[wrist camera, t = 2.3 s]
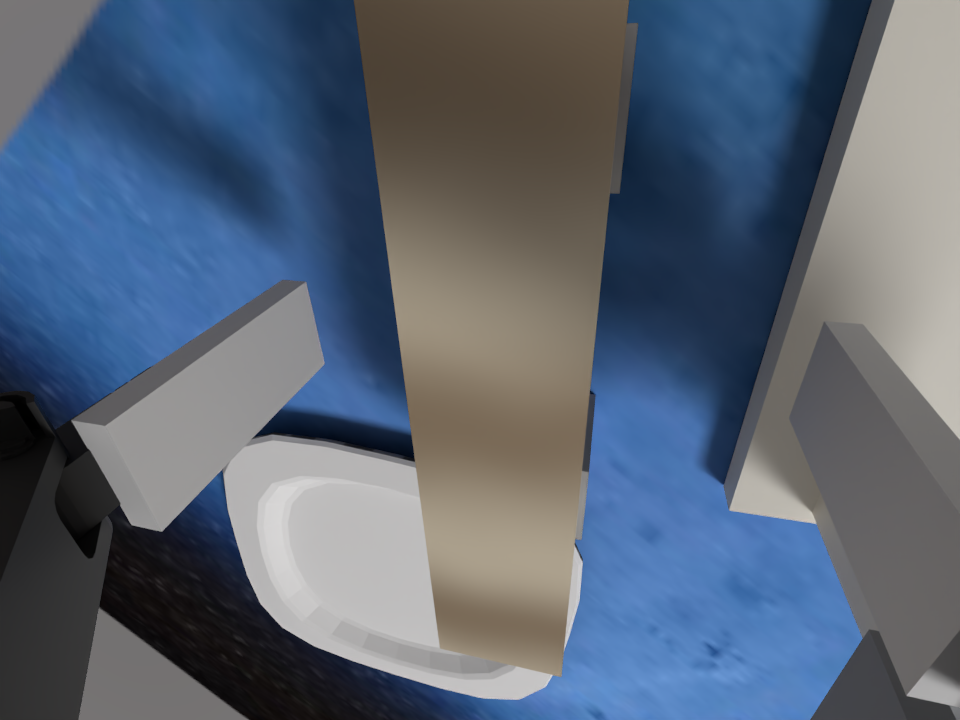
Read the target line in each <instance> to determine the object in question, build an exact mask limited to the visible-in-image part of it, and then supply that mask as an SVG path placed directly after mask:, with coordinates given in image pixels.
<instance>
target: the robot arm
mask: <svg viewBox="0 0 960 720" xmlns="http://www.w3.org/2000/svg"><path fill="white" fill-rule="evenodd" d="M324 364H325V363H324V358H323V354H322V349H321V345H320V341H319V336H318V332H317V327H316V323H315V319H314V314H313V310H312V305H311V301H310V297H309V292H308V288H307V283H306V282H304V281H291V280H282V281H280V282H279V283H277V284H276V285H274V286H273V287H271V288H270V289H268V290H267V291H265V292H264V293H262V294H261V295H259V296H258V297H256V298H255V299H253V300H252V301H250V302H248V303H247V304H245V305H244V306H242V307H241V308H239V309H238V310H236V311H235V312H233V313H232V314H230V315H229V316H227V317H226V318H224V319H223V320H221V321H220V322H218V323H217V324H215V325H214V326H212V327H211V328H209V329H208V330H206V331H205V332H203V333H202V334H200V335H199V336H197V337H196V338H194V339H193V340H191V341H190V342H188V343H187V344H185V345H184V346H182V347H181V348H179V349H178V350H176V351H175V352H173V353H172V354H170V355H169V356H167V357H166V358H164V359H163V360H161V361H160V362H158V363H157V364H155V365H154V366H152V367H149V368H148V369H146V370H145V371H143V372H142V373H140V374H139V375H137V376H136V377H134V378H133V379H131V381H130V382H127V383H125V384H124V385H122V386H121V387H119V388H118V389H116V390H115V392H113V393H110V394H109V395H107V396H106V397H104V398H103V399H101V400H100V401H98V402H97V403H95V404H94V405H92V406H91V407H89V408H88V409H86V410H84V411H83V412H81V413H80V414H78V415H77V416H75V417H74V418H72V419H71V420H69V421H68V422H66V423H65V424H63V425H62V426H60V427H59V428H57V429H56V430H55V429H54V427H53V425H52V424H51V422H50V420H49V419H48V417H47V415H46V414H45V412H44V410H43V409H42V407H41V405H40V404H39V402H38V400H37V399H36V397H35V396H34V395H33V394H31V393H30V392H26V391H12V392H5V393H0V720H78V718H79V713H80V707H81V702H82V696H83V691H84V685H85V679H86V674H87V669H88V663H89V658H90V652H91V647H92V641H93V636H94V631H95V625H96V620H97V614H98V609H99V603H100V598H101V592H102V587H103V581H104V576H105V570H106V565H107V559H108V554H109V548H110V543H111V537H112V532H113V529H112V523H111V521H110V519H109V518H108V516H107V515H108V514H110V513H111V512H112V511H113V510H114V509H115V508H116V507H117V506H119V505H120V506H121V508H122V509H123V511H124V513H125V515H126V516H127V518H128V520H129V521H130V523H131V525H134V526H139V527H143V528H148V529H152V530H157V531H161V532H162V531H163V530H164V529H165V528H166V527H167V526H168V525H169V524H170V523H171V522H172V521H173V520H174V519H175V517H176V516H177V515H178V514H179V513H180V512H181V511H182V510H183V509H184V508H185V507H186V506H187V505H188V504H189V503H190V502H191V501H192V500H193V499H194V498H195V497H196V496H197V495H198V494H199V493H200V492H201V491H202V490H203V489H204V488H205V487H206V486H207V485H208V484H209V482H210V481H211V480H212V479H213V478H214V477H215V476H216V475H217V474H218V473H219V472H220V471H221V470H222V469H223V468H224V467H225V466H226V465H227V464H228V463H229V462H230V461H231V460H232V459H233V458H234V457H235V456H236V455H237V454H238V453H239V452H240V451H241V450H242V449H243V447H244V446H245V445H246V444H247V443H248V442H249V441H250V440H251V439H252V438H253V437H254V436H255V435H256V434H257V433H258V432H259V431H260V430H261V429H262V428H263V427H264V426H265V425H266V424H267V423H268V422H269V421H270V420H271V419H272V418H273V417H274V416H275V415H276V414H277V413H278V411H279V410H280V409H281V408H282V407H283V406H284V405H285V404H286V403H287V402H288V401H289V400H290V399H291V398H292V397H293V396H294V395H295V394H296V393H297V392H298V391H299V390H300V389H301V388H302V387H303V386H304V385H305V384H306V383H307V382H308V381H309V380H310V379H311V378H312V376H313V375H314V374H315V373H316V372H317V371H318V370H319V369H320V368H321V367H322V366H323V365H324ZM789 420H790V422H791V425H792V427H793V429H794V432H795V434H796V436H797V439H798V441H799V443H800V446H801V448H802V451H803V453H804V455H805V458H806V460H807V462H808V465H809V467H810V469H811V472H812V474H813V476H814V479H815V481H816V484H817V486H818V488H819V491H820V493H821V495H822V498H823V500H824V502H825V505H826V507H827V510H828V512H829V514H830V517H831V519H832V521H833V524H834V526H835V528H836V531H837V533H838V536H839V538H840V540H841V543H842V545H843V547H844V550H845V552H846V554H847V557H848V559H849V562H850V564H851V566H852V569H853V571H854V573H855V576H856V578H857V580H858V583H859V585H860V588H861V590H862V592H863V595H864V597H865V599H866V602H867V604H868V606H869V609H870V611H871V613H872V616H873V618H874V621H875V623H876V625H877V628H878V630H879V632H880V635H881V637H882V639H883V642H884V644H885V647H886V649H887V651H888V654H889V656H890V658H891V661H892V663H893V665H894V668H895V670H896V673H897V675H898V677H899V680H900V682H901V684H902V687H903V689H904V691H905V694H906V696H910V697H914V698H919V699H923V700H928V701H932V702H937V703H941V704H946V705H950V706H955V707H959V708H960V440H959V438H958V437H957V436H956V435H955V434H954V432H953V431H952V430H951V429H950V428H949V426H948V425H947V424H946V423H945V422H944V420H943V419H942V418H941V417H940V416H939V414H938V413H937V412H936V411H935V410H934V409H933V407H932V406H931V405H930V404H929V403H928V401H927V400H926V399H925V398H924V397H923V395H922V394H921V393H920V392H919V391H918V389H917V388H916V387H915V386H914V385H913V383H912V382H911V381H910V380H909V379H908V377H907V376H906V375H905V374H904V373H903V371H902V370H901V369H900V368H899V367H898V365H897V364H896V363H895V362H894V361H893V359H892V358H891V357H890V356H889V355H888V353H887V352H886V351H885V350H884V349H883V347H882V346H881V345H880V344H879V343H878V342H877V340H876V339H875V338H874V337H873V336H872V334H871V333H870V332H869V331H868V330H867V328H866V327H865V326H864V325H863V324H855V323H842V322H828V321H824V323H823V326H822V328H821V331H820V334H819V337H818V339H817V342H816V345H815V348H814V350H813V353H812V356H811V359H810V361H809V364H808V367H807V370H806V372H805V375H804V378H803V381H802V383H801V386H800V389H799V392H798V394H797V397H796V400H795V403H794V405H793V408H792V411H791V414H790V416H789Z"/></svg>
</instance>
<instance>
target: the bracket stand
mask: <svg viewBox="0 0 960 720" xmlns="http://www.w3.org/2000/svg"><path fill="white" fill-rule="evenodd" d="M824 321H828V322H842V323H855V324H863V325H864V326H865V327H866V328H867V330H868V331H869V332H870V333H871V334H872V336H873V337H874V338H875V339H876V340H877V342H878V343H879V344H880V345H881V346H882V347H883V349H884V350H885V351H886V352H887V353H888V355H889V356H890V357H891V358H892V359H893V361H894V362H895V363H896V364H897V365H898V367H899V368H900V369H901V370H902V371H903V373H904V374H905V375H906V376H907V377H908V379H909V380H910V381H911V382H912V383H913V385H914V386H915V387H916V388H917V389H918V391H919V392H920V393H921V394H922V395H923V397H924V398H925V399H926V400H927V401H928V403H929V404H930V405H931V406H932V407H933V409H934V410H935V411H936V412H937V413H938V414H939V416H940V417H941V418H942V419H943V420H944V422H945V423H946V424H947V425H948V426H949V428H950V429H951V430H952V431H953V432H954V434H955V435H956V436H957V437H958V438H959V440H960V0H872V2H871V5H870V8H869V12H868V15H867V18H866V22H865V25H864V28H863V31H862V35H861V38H860V41H859V44H858V48H857V51H856V54H855V58H854V61H853V64H852V67H851V71H850V74H849V77H848V80H847V84H846V87H845V90H844V94H843V97H842V100H841V103H840V107H839V110H838V113H837V116H836V120H835V123H834V126H833V130H832V133H831V136H830V139H829V143H828V146H827V149H826V152H825V156H824V159H823V162H822V166H821V169H820V172H819V175H818V179H817V182H816V185H815V188H814V192H813V195H812V198H811V202H810V205H809V208H808V211H807V215H806V218H805V221H804V224H803V228H802V231H801V234H800V237H799V241H798V244H797V247H796V251H795V254H794V257H793V260H792V264H791V267H790V270H789V273H788V277H787V280H786V283H785V287H784V290H783V293H782V296H781V300H780V303H779V306H778V309H777V313H776V316H775V319H774V323H773V326H772V329H771V332H770V336H769V339H768V342H767V345H766V349H765V352H764V355H763V359H762V362H761V365H760V368H759V372H758V375H757V378H756V381H755V385H754V388H753V391H752V395H751V398H750V401H749V404H748V408H747V411H746V414H745V417H744V421H743V424H742V427H741V431H740V434H739V437H738V440H737V444H736V447H735V450H734V453H733V457H732V460H731V463H730V467H729V470H728V473H727V476H726V480H725V483H724V491H725V495H726V499H727V504H728V508H729V511H736V512H742V513H749V514H755V515H762V516H769V517H775V518H782V519H788V520H795V521H802V522H808V523H815V524H817V526H818V529H819V531H820V533H821V536H822V538H823V541H824V543H825V546H826V548H827V551H828V553H829V556H830V558H831V561H832V563H833V566H834V568H835V571H836V573H837V576H838V578H839V581H840V583H841V586H842V588H843V591H844V593H845V596H846V598H847V601H848V603H849V606H850V608H851V610H852V613H853V615H854V618H855V620H856V623H857V625H858V628H859V630H860V633H861V635H862V638H863V639H862V641H861V642H860V644H859V645H858V647H857V648H856V650H855V652H854V653H853V655H852V656H851V658H850V659H849V661H848V662H847V664H846V665H845V667H844V669H843V670H842V672H841V673H840V675H839V676H838V678H837V679H836V681H835V682H834V684H833V686H832V687H831V689H830V690H829V692H828V693H827V695H826V696H825V698H824V699H823V701H822V703H821V704H820V706H819V707H818V709H817V710H816V712H815V713H814V715H813V716H812V718H811V719H810V720H960V708H959V707H955V706H950V705H946V704H941V703H937V702H932V701H928V700H923V699H919V698H914V697H910V696H906V694H905V691H904V689H903V687H902V684H901V682H900V680H899V677H898V675H897V673H896V670H895V668H894V665H893V663H892V661H891V658H890V656H889V654H888V651H887V649H886V647H885V644H884V642H883V639H882V637H881V635H880V632H879V630H878V628H877V625H876V623H875V621H874V618H873V616H872V613H871V611H870V609H869V606H868V604H867V602H866V599H865V597H864V595H863V592H862V590H861V588H860V585H859V583H858V580H857V578H856V576H855V573H854V571H853V569H852V566H851V564H850V562H849V559H848V557H847V554H846V552H845V550H844V547H843V545H842V543H841V540H840V538H839V536H838V533H837V531H836V528H835V526H834V524H833V521H832V519H831V517H830V514H829V512H828V510H827V507H826V505H825V502H824V500H823V498H822V495H821V493H820V491H819V488H818V486H817V484H816V481H815V479H814V476H813V474H812V472H811V469H810V467H809V465H808V462H807V460H806V458H805V455H804V453H803V451H802V448H801V446H800V443H799V441H798V439H797V436H796V434H795V432H794V429H793V427H792V425H791V422H790V420H789V416H790V414H791V411H792V408H793V405H794V403H795V400H796V397H797V394H798V392H799V389H800V386H801V383H802V381H803V378H804V375H805V372H806V370H807V367H808V364H809V361H810V359H811V356H812V353H813V350H814V348H815V345H816V342H817V339H818V337H819V334H820V331H821V328H822V326H823V323H824Z"/></svg>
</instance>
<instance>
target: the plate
mask: <svg viewBox="0 0 960 720" xmlns="http://www.w3.org/2000/svg"><path fill="white" fill-rule="evenodd" d="M223 477H224V485H225V492H226V500H227V507H228V512H229V516H230V519H231V523H232V527H233V530H234V534H235V538H236V541H237V545H238V548H239V551H240V554H241V558H242V561H243V564H244V567H245V570H246V573H247V576H248V578H249V580H250V583H251V585H252V587H253V589H254V591H255V593H256V595H257V597H258V600H259V602H260V604H261V605H262V606H263V607H264V608H265V609H266V610H267V611H268V612H269V614H270V615H271V616H272V617H273V618H274V619H275V620H276V621H277V622H278V623H279V625H280V626H281V627H282V628H284V629H286V630H287V631H289V632H291V633H293V634H294V635H296V636H298V637H299V638H301V639H303V640H304V641H306V642H308V643H310V644H311V645H313V646H315V647H318V648H320V649H323V650H325V651H328V652H331V653H333V654H336V655H338V656H341V657H344V658H346V659H349V660H352V661H354V662H357V663H361V664H364V665H367V666H370V667H373V668H376V669H379V670H382V671H385V672H389V673H392V674H395V675H398V676H401V677H405V678H408V679H411V680H415V681H418V682H421V683H425V684H428V685H431V686H435V687H438V688H442V689H446V690H450V691H454V692H458V693H462V694H467V695H471V696H475V697H479V698H489V699H512V700H519V699H521V698H523V697H525V696H528V695H530V694H532V693H534V692H536V691H538V690H540V689H542V688H544V687H546V685H547V684H548V682H549V680H550V679H551V677H552V676H553V675H551V674H546V673H542V672H538V671H534V670H529V669H525V668H521V667H517V666H512V665H508V664H504V663H500V662H495V661H491V660H487V659H483V658H478V657H474V656H470V655H466V654H461V653H457V652H453V651H449V650H444V649H440V645H439V638H438V630H437V623H436V615H435V608H434V600H433V592H432V585H431V577H430V570H429V562H428V555H427V547H426V540H425V532H424V525H423V517H422V510H421V502H420V495H419V487H418V480H417V472H416V464H415V458H411V457H407V456H403V455H399V454H395V453H390V452H386V451H381V450H377V449H372V448H368V447H363V446H359V445H354V444H350V443H345V442H341V441H336V440H331V439H323V438H316V437H308V436H300V435H292V434H284V433H277V432H273V433H269V434H265V435H261V436H257V437H253V438H252V439H251V440H250V441H249V442H248V443H247V444H246V445H245V446H244V447H243V449H242V450H241V451H240V452H239V453H238V454H237V455H236V456H235V457H234V458H233V459H232V460H231V461H230V462H229V463H228V464H227V465H226V466H225V467H224V468H223ZM582 561H583V559H582V556H581V554H580V552H579V550H578V548H577V546H576V544H575V546H574V556H573V566H572V575H571V585H570V595H569V605H568V615H567V625H566V635H565V645H564V650H565V647H566V644H567V641H568V638H569V635H570V632H571V628H572V625H573V621H574V618H575V614H576V611H577V608H578V604H579V600H580V589H581V577H582V565H583V562H582Z"/></svg>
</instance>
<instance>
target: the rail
mask: <svg viewBox="0 0 960 720" xmlns="http://www.w3.org/2000/svg"><path fill="white" fill-rule="evenodd" d="M354 5H355V13H356V20H357V28H358V35H359V43H360V50H361V58H362V65H363V73H364V80H365V88H366V95H367V103H368V110H369V118H370V126H371V133H372V141H373V148H374V156H375V163H376V171H377V178H378V186H379V193H380V201H381V208H382V216H383V223H384V231H385V239H386V246H387V254H388V261H389V269H390V276H391V284H392V291H393V299H394V306H395V314H396V321H397V329H398V336H399V344H400V351H401V359H402V367H403V374H404V382H405V389H406V397H407V404H408V412H409V419H410V427H411V434H412V442H413V449H414V457H415V464H416V472H417V480H418V487H419V495H420V502H421V510H422V517H423V525H424V532H425V540H426V547H427V555H428V562H429V570H430V577H431V585H432V592H433V600H434V608H435V615H436V623H437V630H438V638H439V645H440V649H444V650H449V651H453V652H457V653H461V654H466V655H470V656H474V657H478V658H483V659H487V660H491V661H495V662H500V663H504V664H508V665H512V666H517V667H521V668H525V669H529V670H534V671H538V672H542V673H546V674H551V675H555V676H559V677H561V674H562V664H563V654H564V645H565V635H566V625H567V615H568V605H569V595H570V585H571V575H572V566H573V556H574V546H575V536H576V526H577V516H578V506H579V496H580V486H581V476H582V466H583V456H584V446H585V436H586V426H587V416H588V406H589V396H590V386H591V376H592V366H593V356H594V346H595V336H596V326H597V316H598V306H599V296H600V286H601V276H602V266H603V256H604V246H605V236H606V226H607V216H608V206H609V196H610V186H611V176H612V166H613V156H614V146H615V136H616V126H617V116H618V106H619V96H620V86H621V76H622V66H623V56H624V46H625V36H626V26H627V16H628V6H629V0H354Z"/></svg>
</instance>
